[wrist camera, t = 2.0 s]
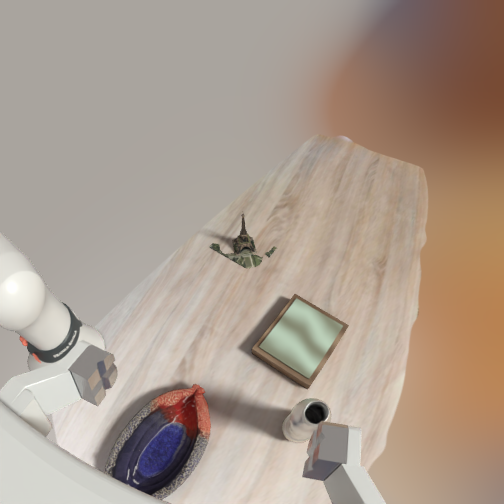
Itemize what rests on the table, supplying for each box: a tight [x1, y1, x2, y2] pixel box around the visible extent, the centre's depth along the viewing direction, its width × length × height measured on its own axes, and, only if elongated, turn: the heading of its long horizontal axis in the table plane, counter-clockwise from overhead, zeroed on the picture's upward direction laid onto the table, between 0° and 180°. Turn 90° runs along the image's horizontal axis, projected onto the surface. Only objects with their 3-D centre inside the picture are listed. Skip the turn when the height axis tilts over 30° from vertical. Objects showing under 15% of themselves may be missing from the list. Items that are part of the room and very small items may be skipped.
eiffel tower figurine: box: [210, 214, 276, 268], centre depth 77 cm, size 15×10×13 cm
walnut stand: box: [252, 294, 349, 389], centre depth 64 cm, size 16×14×3 cm
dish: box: [105, 384, 211, 500], centre depth 49 cm, size 16×31×5 cm, turn 147°
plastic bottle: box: [282, 398, 331, 443], centre depth 46 cm, size 6×7×20 cm
